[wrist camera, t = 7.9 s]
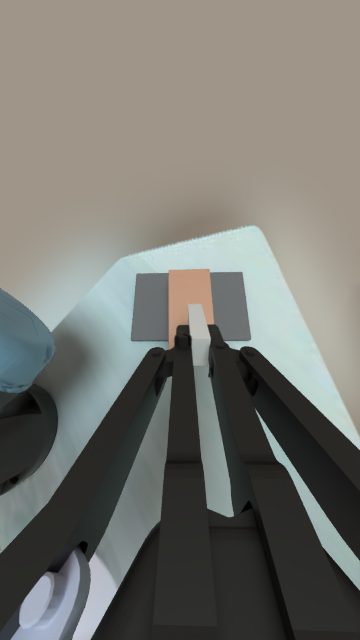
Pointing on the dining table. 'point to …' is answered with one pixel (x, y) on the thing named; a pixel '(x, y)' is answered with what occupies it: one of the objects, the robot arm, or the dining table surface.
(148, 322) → the rubber mat
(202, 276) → the tall block
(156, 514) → the dining table surface
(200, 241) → the dining table surface
